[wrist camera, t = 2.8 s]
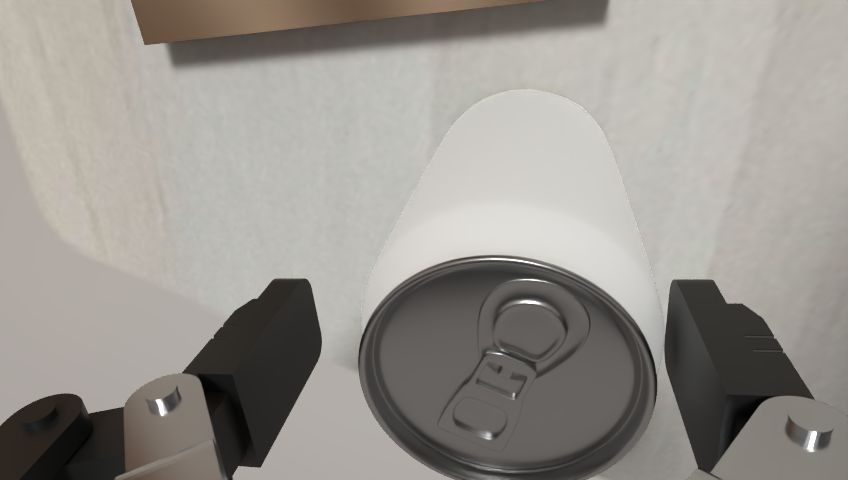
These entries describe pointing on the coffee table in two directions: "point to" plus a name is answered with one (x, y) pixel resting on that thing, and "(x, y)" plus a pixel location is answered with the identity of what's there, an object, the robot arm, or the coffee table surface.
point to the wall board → (275, 15)
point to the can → (514, 302)
